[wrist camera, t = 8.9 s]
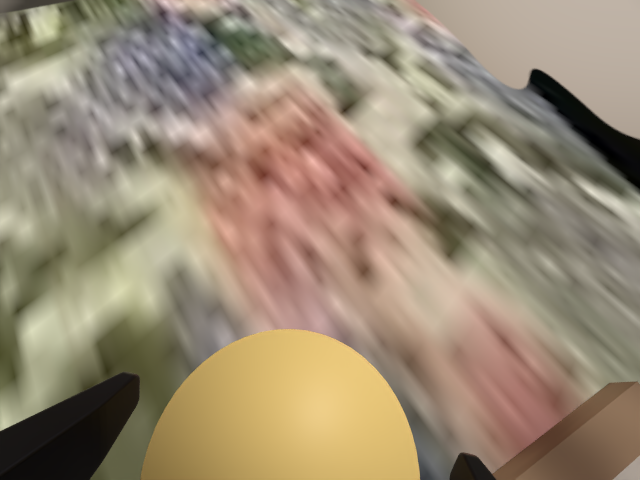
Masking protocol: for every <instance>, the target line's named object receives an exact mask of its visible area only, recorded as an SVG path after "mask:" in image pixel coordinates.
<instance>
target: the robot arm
mask: <svg viewBox="0 0 640 480" xmlns="http://www.w3.org/2000/svg"><path fill="white" fill-rule="evenodd" d="M139 389H140V378H139V376H138V375H137V374H134V373H130V372H122V373H120V374H118V375H115V376H113V377H111V378H109V379H107V380H105V381H103V382H101V383H99V384H97V385H95V386H93V387H91V388H89V389H87V390H85V391H82V392H80V393H78V394H76V395H74V396H72V397H70V398H68V399H66V400H64V401H62V402H60V403H58V404H56V405H54V406H52V407H49V408H47V409H45V410H43V411H41V412H39V413H37V414H35V415H33V416H31V417H29V418H27V419H25V420H23V421H21V422H19V423H16V424H14V425H12V426H10V427H8V428H6V429H4V430H2V431H0V480H90V478H91V477H92V476H93V474H94V473H95V471H96V470H97V469H98V467H99V466H100V464H101V463H102V461H103V460H104V458H105V457H106V455H107V453H108V452H109V450H110V449H111V447H112V445H113V444H114V442H115V440H116V439H117V437H118V435H119V434H120V432H121V431H122V429H123V427H124V426H125V424H126V422H127V421H128V419H129V417H130V416H131V414H132V412H133V411H134V409H135V408H136V406H137V404H138V401H139ZM450 480H496V478H495V477H494V476H493V475H492V474H491V472H490V471H489V470H488V469H487V467H486V466H485V465H484V464H483V463H482V461H481V460H480V459H479V458H478V457H477V456H475V455H472V454H467V453H460V454H459V455H458V457H457V460H456V462H455V464H454V466H453V469H452V471H451V474H450Z"/></svg>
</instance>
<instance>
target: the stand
mask: <svg viewBox="0 0 640 480" xmlns="http://www.w3.org/2000/svg"><path fill="white" fill-rule="evenodd" d="M492 475H493V476H494V477H495V478H496V480H640V384H639V383H638V382H619V383H609V384H608V385H607V386H605V387H604V388H603V389H601V390H600V391H599V392H598V393H596V394H595V395H594V396H592V397H591V398H590V399H589V400H587V401H586V402H585V403H583V404H582V405H581V406H580V407H578V408H577V409H576V410H574V411H573V412H572V413H571V414H569V415H568V416H567V417H565V418H564V419H563V420H562V421H560V422H559V423H558V424H556V425H555V426H554V427H553V428H551V429H550V430H549V431H547V432H546V433H545V434H544V435H542V436H541V437H540V438H538V439H537V440H536V441H535V442H533V443H532V444H531V445H529V446H528V447H527V448H526V449H524V450H523V451H522V452H520V453H519V454H518V455H516V456H515V457H514V458H513V459H511V460H510V461H509V462H507V463H506V464H505V465H504V466H502V467H501V468H500V469H498V470H497V471H496V472H495V473H493V474H492Z"/></svg>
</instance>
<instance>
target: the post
mask: <svg viewBox="0 0 640 480" xmlns="http://www.w3.org/2000/svg"><path fill="white" fill-rule="evenodd" d="M140 480H420V472H419V465H418V458H417V451H416V448H415V444H414V440H413V436H412V432H411V429H410V426H409V424H408V421H407V418H406V416H405V413H404V411H403V409H402V407H401V405H400V403H399V401H398V399H397V397H396V396H395V394H394V392H393V391H392V389H391V388H390V386H389V385H388V383H387V382H386V381H385V379H384V378H383V377H382V376H381V375H380V373H379V372H378V371H377V370H376V369H375V368H374V367H373V366H372V365H371V364H370V363H369V362H368V361H367V360H366V359H365V358H364V357H363V356H361V355H360V354H358V353H357V352H356V351H354V350H353V349H352V348H350V347H348V346H347V345H345V344H343V343H341V342H339V341H337V340H335V339H333V338H330V337H328V336H325V335H323V334H319V333H315V332H310V331H305V330H295V329H281V330H271V331H265V332H260V333H257V334H253V335H250V336H247V337H244V338H242V339H240V340H238V341H235V342H233V343H231V344H229V345H227V346H226V347H224V348H222V349H221V350H219V351H217V352H216V353H215V354H213V355H212V356H211V357H209V358H208V359H207V360H205V361H204V362H203V363H202V364H201V365H200V366H199V367H198V368H197V369H196V370H195V371H193V372H192V373H191V374H190V375H189V377H188V378H187V379H186V380H185V381H184V383H183V384H182V385H181V386H180V387H179V389H178V390H177V391H176V393H175V394H174V396H173V397H172V399H171V400H170V402H169V403H168V405H167V406H166V408H165V410H164V412H163V414H162V416H161V418H160V419H159V421H158V423H157V425H156V428H155V430H154V433H153V435H152V438H151V440H150V443H149V445H148V449H147V453H146V456H145V460H144V463H143V467H142V473H141V479H140Z"/></svg>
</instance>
